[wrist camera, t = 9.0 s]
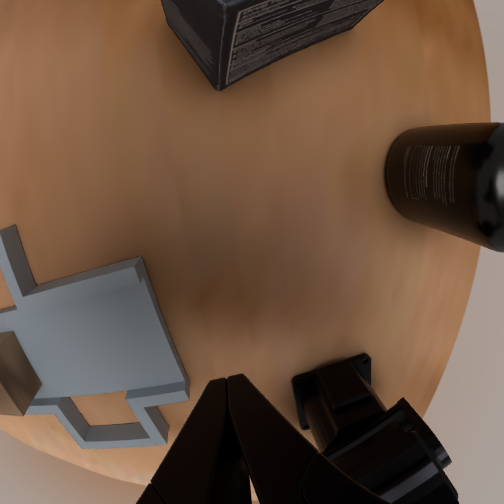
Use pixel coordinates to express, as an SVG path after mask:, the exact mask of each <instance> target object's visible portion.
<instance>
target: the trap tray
mask: <svg viewBox="0 0 504 504" xmlns="http://www.w3.org/2000/svg"><path fill="white" fill-rule="evenodd" d="M0 267H1V270H2V273H3V275H4V278H5V281H6V283H7V286H8V288H9V291H10V293H11V295H12V298H13V300H14V302H15V305H16V306H12V307H9V308H5V309H1V310H0V333H2V332H9V331H14V333H15V335H16V337H17V339H18V341H19V343H20V345H21V347H22V349H23V351H24V353H25V355H26V357H27V359H28V360H29V362H30V364H31V366H32V367H33V369H34V371H35V373H36V374H37V376H38V378H39V379H40V381H41V383H42V386H41V387H40V389H39V391H38V392H37V394H36V396H35V397H34V399H33V401H32V402H31V404H30V406H29V408H28V409H27V411H26V413H25V414H55V416H56V417H57V418H58V420H59V421H60V422H61V424H62V425H63V426H64V427H65V429H66V430H67V431H68V433H69V434H70V435H71V436H72V437H73V439H74V440H75V441H76V442H77V444H78V445H79V446H80V447H81V448H82V449H104V448H129V447H143V446H155V445H165V444H167V440H168V428H169V427H168V425H167V424H166V422H165V420H164V419H163V417H162V415H161V414H160V412H159V410H158V408H157V407H156V406H158V405H164V404H171V403H177V402H183V401H188V400H189V397H190V381H189V379H188V377H187V374H186V372H185V370H184V368H183V365H182V363H181V361H180V358H179V356H178V354H177V351H176V349H175V346H174V344H173V341H172V339H171V337H170V334H169V332H168V329H167V326H166V324H165V321H164V319H163V316H162V313H161V311H160V308H159V305H158V303H157V300H156V297H155V295H154V292H153V289H152V286H151V283H150V280H149V277H148V275H147V272H146V269H145V266H144V263H143V260H142V257H141V256H140V257H136V258H132V259H129V260H125V261H121V262H118V263H114V264H110V265H107V266H103V267H100V268H96V269H93V270H89V271H85V272H82V273H78V274H75V275H71V276H68V277H64V278H61V279H58V280H54V281H51V282H47V283H44V284H40V285H37V286H36V284H35V281H34V279H33V276H32V273H31V271H30V268H29V265H28V262H27V260H26V257H25V254H24V251H23V248H22V245H21V242H20V239H19V235H18V232H17V229H16V225H12V226H10V227H8V228H5V229H3V230H0ZM127 390H128V391H127ZM120 391H127V395H126V399H125V400H126V401H127V403H128V404H129V406H130V408H131V409H132V411H133V412H134V414H135V416H136V417H137V419H138V420H139V423H129V424H118V425H103V426H89V424H88V423H87V422H86V420H85V419H84V418H83V416H82V415H81V413H80V412H79V411H78V409H77V408H76V406H75V405H74V403H73V402H72V400H71V399H70V397H71V396H83V395H93V394H103V393H112V392H120Z"/></svg>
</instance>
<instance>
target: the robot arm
mask: <svg viewBox="0 0 504 504" xmlns="http://www.w3.org/2000/svg"><path fill="white" fill-rule="evenodd" d="M365 359H366V360H365ZM364 360H365V361H364ZM297 382H300V383H297ZM291 383H292V388H293V393H294V397H295V402H296V407H297V412H298V417H299V422H300V426H301V429H302V430H308V429H311V432H312V434H313V437H314V439H315V442H316V444H317V447H318V449H319V451H318V450H317V449H316V448H315V447H314V446H313V445H312V444H311V443H310V442H309V441H308V440H307V439H306V438H305V437H304V436H303V435H302V434H301V433H300V432H299V431H298V430H297V429H296V428H295V427H294V426H293V425H292V424H291V423H290V422H289V421H288V420H287V419H286V418H285V417H284V416H283V415H282V414H281V413H280V412H279V411H278V410H277V409H276V408H275V407H274V406H273V405H272V404H271V403H270V402H269V401H268V400H267V399H266V398H265V397H264V395H263V394H262V393H261V392H260V391H259V390H258V389H257V388H256V387H255V386H254V385H253V384H252V383H251V382H250V380H249V379H248V378H247V377H246V376H245V375H244V374H237V375H232V376H229V377H228V378H227V379H226V378H219V379H215V380H211V381H210V382H209V383H208V384H207V386H206V388H205V390H204V391H203V393H202V395H201V397H200V398H199V400H198V402H197V404H196V405H195V407H194V409H193V410H192V412H191V414H190V416H189V417H188V419H187V421H186V422H185V424H184V426H183V427H182V429H181V431H180V433H179V434H178V436H177V438H176V439H175V441H174V443H173V444H172V446H171V448H170V449H169V451H168V453H167V454H166V456H165V458H164V459H163V461H162V463H161V464H160V466H159V468H158V469H157V471H156V473H155V474H154V476H153V478H152V479H151V483H152V484H151V483H149V484H148V485H147V487H146V489H145V490H144V492H143V494H142V495H141V497H140V498H139V500H138V501H137V503H136V504H252V500H251V488H250V478H251V481H252V484H253V487H254V489H255V492H256V495H257V497H258V500H259V502H260V504H459V502H458V493H457V491H456V489H455V488H454V486H453V485H452V483H451V482H450V480H449V479H448V477H447V475H446V474H445V472H444V471H443V469H444V468H445V467H447V466H448V465H449V464H450V463H451V462H452V461H451V459H450V457H449V455H448V454H447V452H446V450H445V449H444V447H443V446H442V444H441V443H440V441H439V440H438V439H437V437H436V436H435V434H434V433H433V432H432V431H431V429H430V428H429V427H428V425H427V424H426V423H425V422H424V421H423V420H422V418H421V417H420V416H419V415H418V414H417V413H416V411H415V410H414V409H413V408H412V407H411V406H410V404H409V403H408V402H407V401H406V400H405V399H404V398H401V399H400V400H399V401H397V404H395V405H394V406H393V407H391V408H390V409H389V410H387V409H386V407H385V406H384V405H383V403H382V402H381V400H380V399H379V397H378V396H377V394H376V393H375V392H374V390H373V389H372V387H371V358H370V356H369V355H368V354H362V355H359V356H357V357H354V358H351V359H348V360H345V361H343V362H340V363H337V364H334V365H331V366H328V367H325V368H322V369H319V370H316V371H312V372H309V373H306V374H303V375H299V376H296V377H294V378H293V379H292V382H291ZM319 452H320V453H319ZM249 475H250V477H249Z"/></svg>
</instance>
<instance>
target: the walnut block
mask: <svg viewBox="0 0 504 504" xmlns="http://www.w3.org/2000/svg"><path fill="white" fill-rule="evenodd" d="M41 386H42V383H41V381H40V379H39V378H38V376H37V374H36V373H35V371H34V369H33V367H32V366H31V364H30V362H29V360H28V359H27V357H26V355H25V353H24V351H23V349H22V347H21V345H20V343H19V341H18V339H17V337H16V335H15V333H14V331H9V332H2V333H0V414H2V415H12V416H24V415H25V413H26V411H27V409H28V408H29V406H30V404H31V402H32V401H33V399H34V397H35V396H36V394H37V392H38V391H39V389H40V387H41Z"/></svg>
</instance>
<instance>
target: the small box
mask: <svg viewBox="0 0 504 504" xmlns="http://www.w3.org/2000/svg"><path fill="white" fill-rule="evenodd" d="M383 1H384V0H161V3H162V6H163V9H164V12H165V15H166V21H167V23H168V25H169V26H170V28H171V29H172V30H173V32H174V33H175V34H176V36H177V37H178V39H179V40H180V41H181V42H182V44H183V45H184V47H185V48H186V49H187V51H188V52H189V54H190V55H191V56H192V58H193V59H194V60H195V62H196V63H197V64H198V66H199V67H200V68H201V70H202V72H203V73H204V74H205V76H206V77H207V79H208V80H209V81H210V83H211V84H212V86H213V87H214V88H215V89H216V90H219V91H220V90H223V89H224V88H226V87H227V86H229V85H231V84H233V83H235V82H237V81H238V80H240V79H242V78H244V77H246V76H248V75H250V74H251V73H253V72H255V71H257V70H259V69H261V68H263V67H265V66H268V65H270V64H271V63H273V62H275V61H277V60H279V59H282V58H283V57H286V56H288V55H290V54H292V53H294V52H297V51H299V50H301V49H303V48H307V47H308V46H310V45H313V44H315V43H317V42H320V41H322V40H325V39H327V38H329V37H332V36H334V35H337V34H339V33H341V32H344V31H347V30H349V29H352V28H353V27H354V26H355V25H356V24H357V23H359V22H360V21H361V20H362V19H363V18H364V17H365V16H366V15H367V14H368V13H369V12H371V11H372V10H373V9H375V7H376V6H378V5H379V4H380V3H382V2H383Z"/></svg>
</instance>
